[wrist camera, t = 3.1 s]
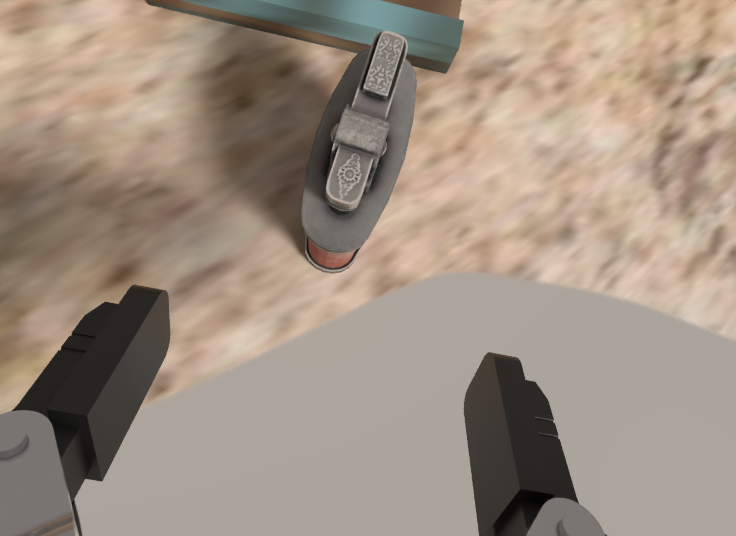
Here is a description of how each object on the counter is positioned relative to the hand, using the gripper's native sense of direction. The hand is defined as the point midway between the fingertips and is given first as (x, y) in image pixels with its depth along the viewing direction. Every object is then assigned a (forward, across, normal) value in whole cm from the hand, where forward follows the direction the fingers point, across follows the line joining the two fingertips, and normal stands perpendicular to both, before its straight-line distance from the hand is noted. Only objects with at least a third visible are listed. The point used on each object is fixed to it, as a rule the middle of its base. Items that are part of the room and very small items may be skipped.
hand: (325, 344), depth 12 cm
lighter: (+14, 0, +4) cm, 14 cm away
